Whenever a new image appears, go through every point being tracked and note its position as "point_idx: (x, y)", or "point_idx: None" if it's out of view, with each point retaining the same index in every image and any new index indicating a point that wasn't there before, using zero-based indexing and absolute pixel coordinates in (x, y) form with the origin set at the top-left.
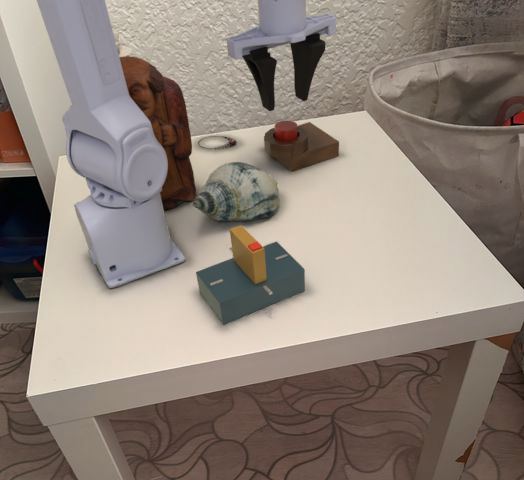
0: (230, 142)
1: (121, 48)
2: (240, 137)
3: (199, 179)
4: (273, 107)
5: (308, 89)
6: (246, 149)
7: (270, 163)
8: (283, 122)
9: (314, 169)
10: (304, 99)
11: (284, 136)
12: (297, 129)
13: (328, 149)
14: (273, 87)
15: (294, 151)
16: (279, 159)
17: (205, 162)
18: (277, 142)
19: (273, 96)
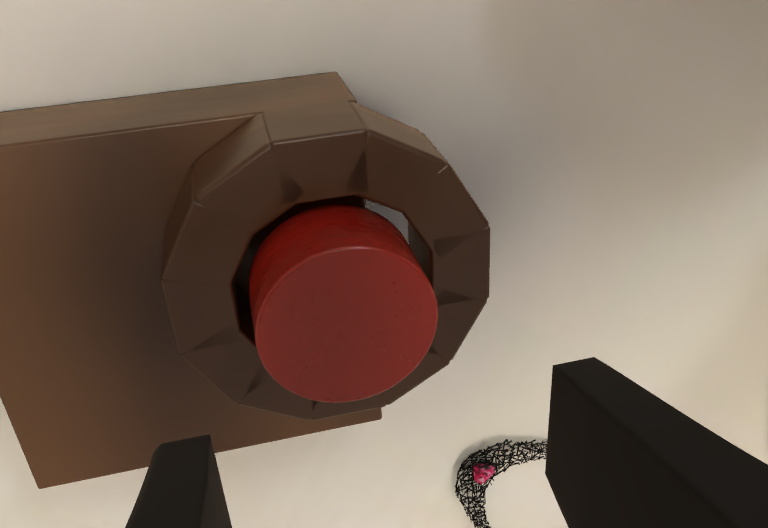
0: (493, 468)
1: None
2: (410, 511)
3: (765, 228)
4: (576, 376)
5: (149, 517)
6: (440, 404)
7: (400, 226)
8: (342, 379)
9: (181, 28)
10: (198, 443)
11: (391, 235)
12: (260, 283)
13: (20, 132)
14: (721, 509)
15: (337, 112)
16: None
17: (657, 360)
18: (443, 214)
19: (654, 434)
